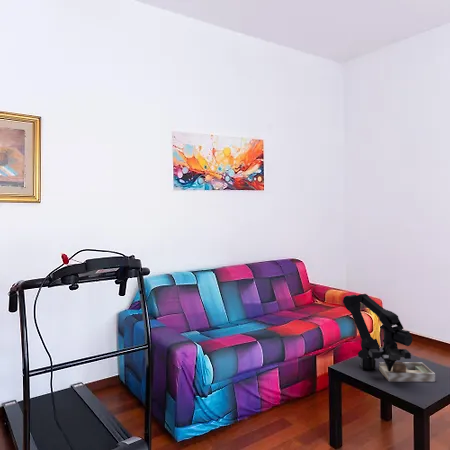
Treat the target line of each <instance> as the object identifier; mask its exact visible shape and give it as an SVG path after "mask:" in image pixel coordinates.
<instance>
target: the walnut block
mask: <svg viewBox="0 0 450 450" xmlns="http://www.w3.org/2000/svg"><path fill="white" fill-rule="evenodd" d="M393 372H394V373H406V365H405V364H404V363H402V361H395V362H394V364H393Z"/></svg>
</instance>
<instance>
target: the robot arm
mask: <svg viewBox="0 0 450 450" xmlns="http://www.w3.org/2000/svg"><path fill="white" fill-rule="evenodd" d="M342 304H343V305H344V307H345V309H346V310H347V311H348V312H350V314H351V316H352V319H353V322H354V323H355V326H356V329H357V331H358V334H359V336H360V339H361V341H360V347H361V349H360V351H358V352H357V355H358V357H359V358H360V364H358V365H359V367H360V369H361V370H362V371H363V372H366V371H367V372H373V371H374V372H376V371H377V369H376V366H377V364H376V363H377V362H376V359H380V358H382V359H383V361H384V362H385V364H386V366H387V369H388V371H391V369H392V366H393V364H394V362H398V361H401V358H404V359H405V360H409V359H412V353H411V352H410V351H409V350H407V349H406V348H398V344H400V345H402V346H406V347H409V346H411V344H413V335H412V334H411V333H410V332H411V331H409V330H406V329H404V326H403V324H402V323H401V320H400V318H399V315H397V314H396V313H395V312H393V311H391V310H388V309H385V308H383V306H381V304H379V303H377V302H376V301H375V300H374V299H373V298H371V297H370V296H369V295H368V294H367V293H361V294H358V295H357V294H349V295H345V296H344V297H343V300H342ZM362 305H363V306H365V307H366V308H367V309H368V310H370V311H371V312H372V313H374V315H376V316H377V318H378V320H379V322H380V323H381V324H382V325H381V326H380V327H379V328H380V329H382V330H383V339H382V342H383V345H382V350H381V349H380V344H379V343H378V339H377V338H373V337H372V335H371V334H370V331H369V329H368V328H369V327H368V326H367V324H366V321H365V319H364V316H363V314H362V311H361V306H362ZM380 350H381V351H380Z"/></svg>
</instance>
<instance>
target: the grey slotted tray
mask: <svg viewBox="0 0 450 450" xmlns="http://www.w3.org/2000/svg"><path fill="white" fill-rule="evenodd" d="M401 362H402V361H401ZM402 363H404V364H405V365H406V373H394V372H393V366H392V369H391V371H388V369H387V366H386V364H385V361H384V362H383V361H379V362H378V371H379V372H380V373H381V374H382V376H384V377H385V379H386V380H387V381H388V382H405V383H406V382H422V383H423V382H427V383H428V382H432V383H433V382H436V373H435V372H434V371H433V370H432V369H430V367H428V366H427V365H426V364H425V363H424V362H411V361H410V362H408V361H407V362H406V361H405V362H402Z"/></svg>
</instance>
